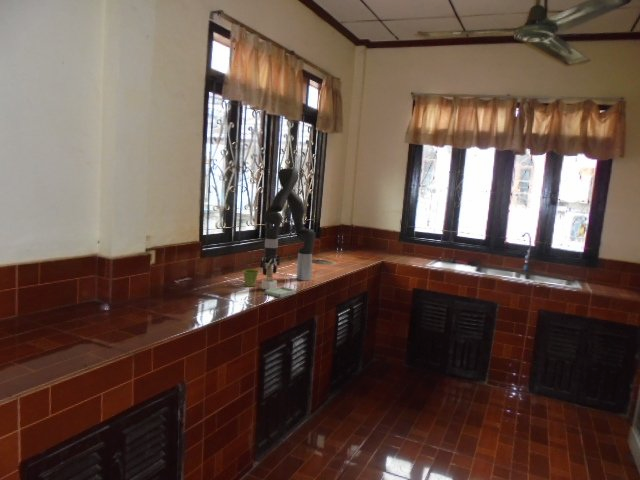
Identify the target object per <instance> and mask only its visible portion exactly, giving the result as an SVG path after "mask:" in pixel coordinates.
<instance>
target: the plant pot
mask: <svg viewBox="0 0 640 480" xmlns="http://www.w3.org/2000/svg"><path fill="white" fill-rule="evenodd" d="M242 272H243V276H244V277H243V279H244V286H246V287H255V286H256V283H257V278H258V275H259V270H256V269H243V270H242Z"/></svg>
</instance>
